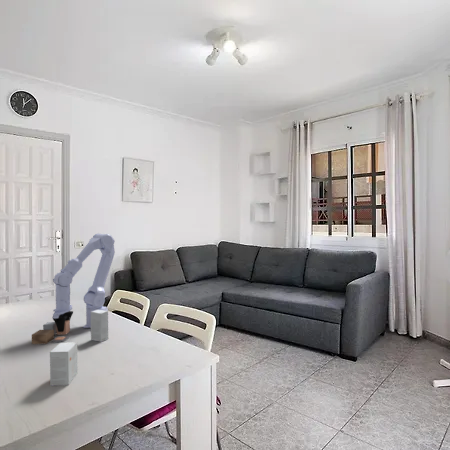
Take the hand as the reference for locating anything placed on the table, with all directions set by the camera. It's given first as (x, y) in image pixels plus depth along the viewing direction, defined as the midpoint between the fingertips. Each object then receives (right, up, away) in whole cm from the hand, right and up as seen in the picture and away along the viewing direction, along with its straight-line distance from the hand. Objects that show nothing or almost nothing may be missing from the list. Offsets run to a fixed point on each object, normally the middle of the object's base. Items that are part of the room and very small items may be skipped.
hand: (63, 329), depth 148 cm
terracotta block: (0, -1, 0) cm, 1 cm away
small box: (+21, -2, -43) cm, 48 cm away
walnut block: (-4, -2, -10) cm, 10 cm away
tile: (+3, -2, -8) cm, 9 cm away
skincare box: (+19, -2, -8) cm, 21 cm away
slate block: (-5, -2, -2) cm, 5 cm away
